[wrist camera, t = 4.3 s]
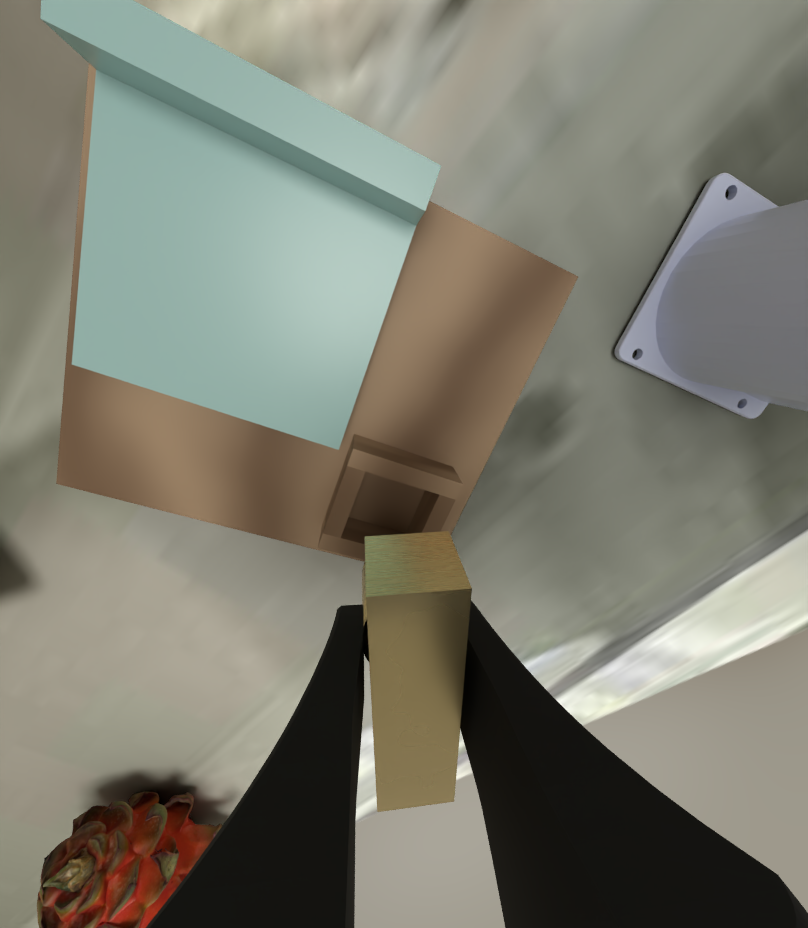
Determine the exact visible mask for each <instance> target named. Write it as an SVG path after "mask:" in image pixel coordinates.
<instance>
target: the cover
mask: <svg viewBox="0 0 808 928" xmlns="http://www.w3.org/2000/svg"><path fill="white" fill-rule="evenodd" d="M41 19H42V20H43V21H44V22H45V23H46V24H47V25H48V26H49V27H50V28H51V29H52V30H54V31H55V32H56V33H57V34H58V35H59V36H60V37H61V38H62V39H63V40H65V41H66V42H67V43H68V44H69V45H70V46H71V47H72V48H73V49H74V50H75V51H77V52H78V53H79V54H80V55H81V56H82V57H83V58H84V59H85V60H86V61H87V62H89V63H90V64H91V65H92V66H93V67H94V68H95V69H96V77H95V89H94V101H93V113H92V125H91V137H90V149H89V162H88V174H87V186H86V198H85V210H84V222H83V234H82V246H81V258H80V270H79V282H78V295H77V307H76V319H75V331H74V343H73V355H72V365H75V366H78V367H81V368H85V369H88V370H91V371H94V372H97V373H100V374H103V375H106V376H110V377H113V378H116V379H119V380H122V381H125V382H128V383H131V384H134V385H138V386H141V387H144V388H147V389H150V390H153V391H156V392H159V393H163V394H166V395H169V396H172V397H175V398H178V399H181V400H184V401H188V402H191V403H194V404H197V405H200V406H203V407H206V408H209V409H213V410H216V411H219V412H222V413H225V414H228V415H231V416H234V417H238V418H241V419H244V420H247V421H250V422H253V423H256V424H259V425H262V426H266V427H269V428H272V429H275V430H278V431H281V432H284V433H287V434H291V435H294V436H297V437H300V438H303V439H306V440H309V441H312V442H316V443H319V444H322V445H325V446H328V447H331V448H334V449H337V450H339V448H340V445H341V442H342V439H343V436H344V433H345V430H346V427H347V424H348V422H349V419H350V416H351V413H352V410H353V407H354V404H355V401H356V398H357V396H358V393H359V390H360V387H361V384H362V381H363V378H364V375H365V372H366V370H367V367H368V364H369V361H370V358H371V355H372V352H373V349H374V346H375V343H376V341H377V338H378V335H379V332H380V329H381V326H382V323H383V320H384V317H385V315H386V312H387V309H388V306H389V303H390V300H391V297H392V294H393V291H394V289H395V286H396V283H397V280H398V277H399V274H400V271H401V268H402V265H403V263H404V260H405V257H406V254H407V251H408V248H409V245H410V242H411V239H412V236H413V234H414V231H415V228H416V225H417V224H418V222H419V220H420V219H421V217H422V216H423V214H424V213H425V211H426V208H427V205H428V202H429V199H430V196H431V194H432V191H433V188H434V185H435V182H436V179H437V176H438V174H439V171H440V168H441V165H439V164H437V163H435V162H433V161H432V160H430V159H428V158H426V157H424V156H422V155H420V154H418V153H417V152H415V151H413V150H411V149H409V148H407V147H405V146H404V145H402V144H400V143H398V142H396V141H394V140H392V139H391V138H389V137H387V136H385V135H383V134H381V133H379V132H377V131H376V130H374V129H372V128H370V127H368V126H366V125H364V124H363V123H361V122H359V121H357V120H355V119H353V118H351V117H350V116H348V115H346V114H344V113H342V112H340V111H338V110H336V109H335V108H333V107H331V106H329V105H327V104H325V103H323V102H322V101H320V100H318V99H316V98H314V97H312V96H310V95H309V94H307V93H305V92H303V91H301V90H299V89H297V88H296V87H294V86H292V85H290V84H288V83H286V82H284V81H282V80H281V79H279V78H277V77H275V76H273V75H271V74H269V73H268V72H266V71H264V70H262V69H260V68H258V67H256V66H255V65H253V64H251V63H249V62H247V61H245V60H243V59H241V58H240V57H238V56H236V55H234V54H232V53H230V52H228V51H227V50H225V49H223V48H221V47H219V46H217V45H215V44H214V43H212V42H210V41H208V40H206V39H204V38H202V37H200V36H199V35H197V34H195V33H193V32H191V31H189V30H187V29H186V28H184V27H182V26H180V25H178V24H176V23H174V22H173V21H171V20H169V19H167V18H165V17H163V16H161V15H160V14H158V13H156V12H154V11H152V10H150V9H148V8H146V7H145V6H143V5H141V4H139V3H137V2H135V1H133V0H41Z"/></svg>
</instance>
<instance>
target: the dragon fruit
mask: <svg viewBox="0 0 808 928" xmlns="http://www.w3.org/2000/svg"><path fill="white" fill-rule="evenodd" d="M193 801H194V797H193V796H192V795H191V794H190V793H189V792H186V793H185V794H183V795H174V796H172V797H171V799H170V800H169V802H167V803H166V804H165V805H161V804H159V795H158V794H157V793H155V792H146V791H145V792H141V793H136V794H133V795H132V796H131V798H130V799H129V804H127V803H126V802H124V801H116V802H112V803H111V804H110V805H109V807H105V806H93V807H91V808H90V809H89V810H88V811H86V812H85V813H83V814H81V815H80V816H79V817H78V818H76V819H74V820H73V832H72V836H71V837H70V838H67V839H66V840H64V841H63V842H61V843H60V844H59V845H58V846H57V847H56V848H55V849H54V850H53V851H52V852H51V853H50V854H49V856H47V857H46V858H44V859H45V861H44V864H43V869H42V874H41V887H40V891H39V893H38V900H37V912H38V924H39V928H146V926H147V925H148V924H149V923H150V921H151V920H152V919H153V918H154V916H155V915H156V914H157V913H158V911H159V910H160V909H161V907H162V906H163V905H164V904H165V902H166V901H167V900H168V899H169V897H170V896H171V895H172V894H173V892H174V891H175V890H176V889H177V887H178V886H179V885H180V883H181V882H182V881H183V879H184V878H185V877H186V875H187V874H188V873H189V871H190V870H191V869H192V867H193V866H194V865H195V863H196V862H197V861H198V859H199V858H200V856H201V855H202V854H203V852H204V851H205V849H206V848H207V847H208V845H209V844H210V843H211V841H212V840H213V838H214V837H215V836H216V834H217V833H218V831H219V830H220V829H221V827H222V824H219V825H217V826H213V825H211V824H209V825H199V824H197V825H196V824H195V823H194V822H193V821H192V818H191V815H190V814H189V813H190V811H191V810H192V807H193Z"/></svg>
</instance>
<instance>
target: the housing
mask: <svg viewBox="0 0 808 928" xmlns="http://www.w3.org/2000/svg"><path fill="white" fill-rule="evenodd" d="M95 77H96V69H95V68H94V67H93V66H92V65H91V64H90V63H89V68H88V81H87V94H86V107H85V120H84V133H83V146H82V159H81V172H80V185H79V198H78V211H77V224H76V237H75V250H74V262H73V275H72V288H71V301H70V314H69V327H68V340H67V353H66V366H65V379H64V392H63V405H62V418H61V431H60V444H59V457H58V470H57V482H56V484H60V485H64V486H68V487H72V488H75V489H79V490H83V491H87V492H91V493H95V494H99V495H103V496H107V497H111V498H115V499H119V500H123V501H127V502H131V503H135V504H139V505H143V506H147V507H150V508H154V509H158V510H162V511H166V512H170V513H174V514H178V515H182V516H186V517H190V518H194V519H198V520H202V521H206V522H210V523H214V524H218V525H222V526H226V527H229V528H233V529H237V530H241V531H245V532H249V533H253V534H257V535H261V536H265V537H269V538H273V539H277V540H281V541H285V542H289V543H293V544H297V545H301V546H305V547H308V548H312V549H316V550H320V551H324V552H328V553H332V554H336V555H340V556H344V557H348V558H352V559H356V560H360V561H364V562H365V536H381V535H396V534H412V533H428V532H443V531H449V533H450V536H451V534H452V531H453V529H454V527H455V525H456V523H457V521H458V519H459V517H460V515H461V513H462V511H463V509H464V507H465V505H466V503H467V501H468V499H469V497H470V495H471V493H472V491H473V489H474V487H475V485H476V483H477V481H478V479H479V477H480V475H481V473H482V471H483V469H484V467H485V465H486V463H487V461H488V459H489V457H490V455H491V453H492V450H493V448H494V446H495V444H496V442H497V440H498V438H499V436H500V434H501V432H502V430H503V428H504V426H505V424H506V422H507V420H508V418H509V416H510V414H511V412H512V410H513V408H514V406H515V404H516V402H517V400H518V398H519V396H520V394H521V392H522V390H523V388H524V386H525V384H526V382H527V380H528V378H529V376H530V374H531V372H532V369H533V367H534V365H535V363H536V361H537V359H538V357H539V355H540V353H541V351H542V349H543V347H544V345H545V343H546V341H547V339H548V337H549V335H550V333H551V331H552V329H553V327H554V325H555V323H556V321H557V319H558V317H559V315H560V313H561V311H562V309H563V307H564V305H565V303H566V301H567V299H568V297H569V295H570V293H571V290H572V288H573V286H574V284H575V282H576V280H577V278H578V276H576V275H574V274H572V273H570V272H568V271H566V270H564V269H562V268H560V267H558V266H556V265H554V264H552V263H550V262H548V261H546V260H544V259H542V258H540V257H538V256H536V255H534V254H533V253H531V252H529V251H527V250H525V249H523V248H521V247H519V246H517V245H515V244H513V243H511V242H509V241H507V240H505V239H503V238H501V237H499V236H497V235H495V234H493V233H491V232H489V231H487V230H485V229H483V228H481V227H479V226H477V225H475V224H474V223H472V222H470V221H468V220H466V219H464V218H462V217H460V216H458V215H456V214H454V213H452V212H450V211H448V210H446V209H444V208H442V207H440V206H438V205H436V204H434V203H432V202H430V201H429V202H428V205H427V208H426V211H425V213H424V214H423V216H422V217H421V219H420V220H419V222H418V224H417V225H416V228H415V231H414V234H413V236H412V239H411V242H410V245H409V248H408V251H407V254H406V257H405V260H404V263H403V265H402V268H401V271H400V274H399V277H398V280H397V283H396V286H395V289H394V291H393V294H392V297H391V300H390V303H389V306H388V309H387V312H386V315H385V317H384V320H383V323H382V326H381V329H380V332H379V335H378V338H377V341H376V343H375V346H374V349H373V352H372V355H371V358H370V361H369V364H368V367H367V370H366V372H365V375H364V378H363V381H362V384H361V387H360V390H359V393H358V396H357V398H356V401H355V404H354V407H353V410H352V413H351V416H350V419H349V422H348V424H347V427H346V430H345V433H344V436H343V439H342V442H341V445H340V448H339V450H337V449H334V448H331V447H328V446H325V445H322V444H319V443H316V442H312V441H309V440H306V439H303V438H300V437H297V436H294V435H291V434H287V433H284V432H281V431H278V430H275V429H272V428H269V427H266V426H262V425H259V424H256V423H253V422H250V421H247V420H244V419H241V418H238V417H234V416H231V415H228V414H225V413H222V412H219V411H216V410H213V409H209V408H206V407H203V406H200V405H197V404H194V403H191V402H188V401H184V400H181V399H178V398H175V397H172V396H169V395H166V394H163V393H159V392H156V391H153V390H150V389H147V388H144V387H141V386H138V385H134V384H131V383H128V382H125V381H122V380H119V379H116V378H113V377H110V376H106V375H103V374H100V373H97V372H94V371H91V370H88V369H85V368H81V367H78V366H75V365H72V355H73V343H74V331H75V319H76V307H77V295H78V282H79V270H80V258H81V246H82V234H83V222H84V210H85V198H86V186H87V174H88V162H89V149H90V137H91V125H92V113H93V101H94V89H95Z"/></svg>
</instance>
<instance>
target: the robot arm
mask: <svg viewBox="0 0 808 928" xmlns="http://www.w3.org/2000/svg"><path fill="white" fill-rule="evenodd" d="M727 189H728V191H729V195H728V198H727V199H726V197H725V192H726V190H727ZM636 349H637V355H636V356H635V357H634V358H633V357H632V354H633V352H634V351H635V350H636ZM615 356H616V358H618V359H619V360H621V361H623V362H625V363H627V364H629V365H632V366H634V367H636V368H638V369H640V370H643V371H645V372H647V373H649V374H651V375H653V376H656V377H658V378H660V379H662V380H664V381H666V382H669V383H671V384H673V385H675V386H677V387H679V388H682V389H684V390H686V391H688V392H690V393H692V394H695V395H697V396H699V397H701V398H703V399H706V400H708V401H710V402H712V403H714V404H716V405H719V406H721V407H723V408H725V409H727V410H729V411H732V412H734V413H736V414H738V415H740V416H742V417H746V418H749V419H753V418H756V417H758V416H759V415H760V414H761V413H762V412H763V410H764V409H765V408H766V406H767V405H768V404H769V403H772V404H776V405H781V406H785V407H790V408H794V409H799V410H803V411H808V199H807V200H803V201H799V202H795V203H791V204H788V205H784V206H780V207H779V206H777V205H776V204H774V203H773V202H771V201H770V200H768V199H767V198H765V197H763V196H762V195H760V194H759V193H757V192H756V191H754V190H753V189H751V188H750V187H748V186H747V185H745V184H744V183H742V182H741V181H739V180H738V179H736V178H735V177H733V176H732V175H730V174H728V173H721V174H719V175H716V176H714V177H712V178H711V179H710V180H709V181H708V183H707V184H706V186H705V187H704V189H703V191H702V193H701V195H700V196H699V198H698V200H697V202H696V204H695V205H694V207H693V209H692V211H691V213H690V214H689V216H688V218H687V220H686V222H685V223H684V225H683V227H682V229H681V231H680V232H679V234H678V236H677V238H676V240H675V241H674V243H673V245H672V247H671V249H670V250H669V252H668V254H667V256H666V258H665V259H664V261H663V263H662V265H661V267H660V268H659V270H658V272H657V274H656V275H655V277H654V279H653V281H652V283H651V284H650V286H649V288H648V290H647V292H646V293H645V295H644V297H643V299H642V301H641V302H640V304H639V306H638V308H637V310H636V311H635V313H634V315H633V317H632V319H631V320H630V322H629V324H628V326H627V328H626V329H625V331H624V333H623V335H622V337H621V338H620V340H619V342H618V344H617V346H616V348H615ZM739 401H740V402H739ZM738 402H739V404H738ZM737 404H738V405H737ZM363 706H364V607H363V605H346V606H340V607H339V608H338V609H337V613H336V617H335V621H334V624H333V627H332V630H331V633H330V636H329V639H328V641H327V644H326V646H325V649H324V651H323V654H322V656H321V658H320V660H319V663H318V665H317V667H316V670H315V672H314V674H313V676H312V678H311V680H310V682H309V684H308V686H307V688H306V690H305V692H304V694H303V696H302V698H301V700H300V702H299V704H298V706H297V708H296V710H295V712H294V714H293V716H292V717H291V719H290V721H289V723H288V725H287V726H286V728H285V730H284V732H283V733H282V735H281V737H280V739H279V740H278V742H277V744H276V745H275V747H274V749H273V750H272V752H271V754H270V755H269V757H268V759H267V760H266V762H265V763H264V765H263V766H262V768H261V769H260V771H259V773H258V774H257V776H256V777H255V779H254V780H253V782H252V784H251V785H250V787H249V788H248V790H247V791H246V793H245V794H244V796H243V797H242V799H241V800H240V802H239V803H238V805H237V806H236V808H235V809H234V810H233V812H232V813H231V815H230V816H229V818H228V819H227V820H226V822H225V823H224V825H223V826H222V827H221V829H220V830H219V831H218V833H217V834H216V836H215V837H214V838H213V840H212V841H211V843H210V844H209V845H208V847H207V848H206V849H205V851H204V852H203V854H202V855H201V856H200V858H199V859H198V861H197V862H196V863H195V865H194V866H193V867H192V869H191V870H190V871H189V873H188V874H187V875H186V877H185V878H184V879H183V881H182V882H181V883H180V885H179V886H178V887H177V889H176V890H175V891H174V892H173V894H172V895H171V896H170V897H169V899H168V900H167V901H166V902H165V904H164V905H163V906H162V907H161V909H160V910H159V911H158V913H157V914H156V915H155V916H154V918H153V919H152V920H151V921H150V923H149V924H148V925H147V926H146V928H354V899H355V898H354V897H355V895H354V892H355V816H356V796H357V783H358V771H359V758H360V745H361V732H362V719H363ZM460 729H461V732H462V736H463V740H464V743H465V747H466V750H467V754H468V757H469V761H470V764H471V768H472V771H473V775H474V778H475V782H476V785H477V789H478V793H479V797H480V801H481V806H482V809H483V815H484V820H485V824H486V830H487V835H488V839H489V845H490V849H491V854H492V859H493V865H494V869H495V875H496V880H497V885H498V891H499V896H500V901H501V906H502V912H503V917H504V922H505V927H506V928H808V913H807V912H806V910H805V909H804V907H803V906H802V905H801V904H800V902H799V901H798V900H797V898H796V897H795V896H794V895H793V894H792V892H791V891H790V890H789V888H788V887H787V886H786V885H785V884H784V882H783V881H782V880H781V878H780V877H779V876H778V875H777V874H776V873H774V872H773V871H772V870H770V869H769V868H767V867H766V866H764V865H763V864H761V863H760V862H759V861H757V860H756V859H754V858H753V857H751V856H750V855H748V854H747V853H745V852H744V851H742V850H741V849H740V848H738V847H736V846H735V845H734V844H732V843H731V842H729V841H728V840H726V839H725V838H723V837H722V836H720V835H719V834H718V833H716V832H715V831H713V830H712V829H710V828H709V827H707V826H706V825H705V824H703V823H702V822H700V821H699V820H697V819H696V818H695V817H694V816H692V815H691V814H690V813H688V812H687V811H686V810H684V809H683V808H682V807H680V806H679V805H678V804H676V803H675V802H673V801H672V800H671V799H670V798H668V797H667V796H666V795H664V794H663V793H661V792H660V791H659V790H658V789H656V788H655V787H654V786H652V785H651V784H650V783H649V782H648V781H647V780H645V779H644V778H643V777H642V776H640V775H639V774H638V773H637V772H636V771H634V770H633V769H632V768H631V767H629V766H628V765H627V764H626V763H625V762H623V761H622V760H621V759H619V758H618V757H617V756H616V755H615V754H614V753H612V752H611V751H610V750H609V749H607V747H605V746H604V745H603V744H602V743H601V742H600V741H599V740H598V739H596V738H595V737H594V736H593V735H592V734H591V733H590V732H588V731H587V730H586V729H585V728H584V727H583V726H582V725H581V724H580V723H579V722H578V721H577V720H576V719H575V718H574V717H573V716H572V715H570V714H569V713H568V712H567V711H566V710H565V709H564V708H563V707H562V706H561V705H560V704H559V703H558V702H557V701H556V700H555V699H554V698H553V697H552V696H551V695H550V693H549V692H548V691H547V690H546V689H545V688H544V687H543V686H542V685H541V684H540V683H539V682H538V681H537V680H536V679H535V678H534V676H533V675H532V674H531V673H530V672H529V671H528V670H527V669H526V668H525V666H524V665H523V664H522V663H521V662H520V661H519V659H518V658H517V657H516V656H515V655H514V654H513V652H512V651H511V650H510V649H509V648H508V647H507V645H506V644H505V643H504V642H503V641H502V639H501V638H500V637H499V636H498V634H497V633H496V632H495V631H494V629H493V628H492V627H491V626H490V624H489V623H488V622H487V620H486V619H485V618H484V616H483V615H482V614H481V612H480V611H479V610H478V608H477V607H476V606H475V604H474V603H473V602H472V601H471V603H470V615H469V627H468V639H467V651H466V663H465V675H464V687H463V699H462V711H461V723H460Z"/></svg>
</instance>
